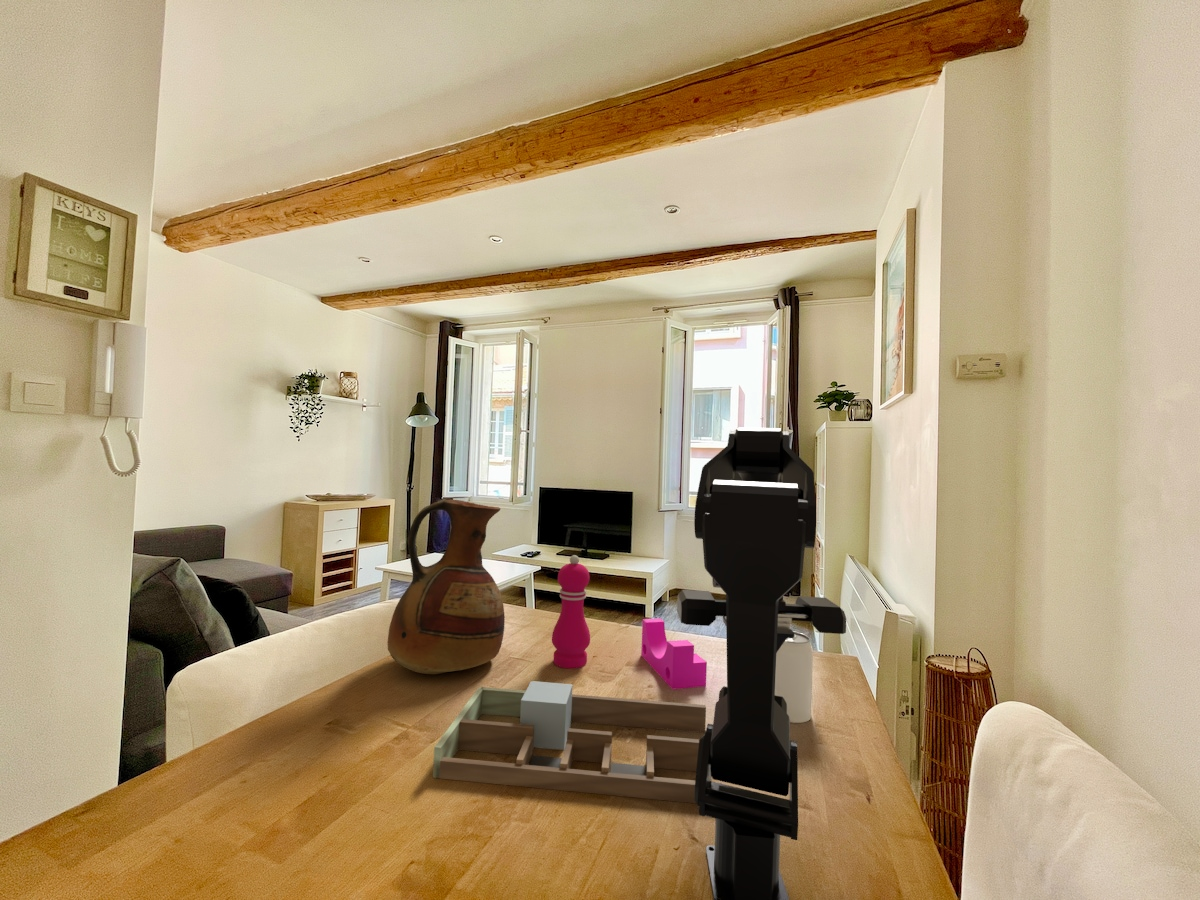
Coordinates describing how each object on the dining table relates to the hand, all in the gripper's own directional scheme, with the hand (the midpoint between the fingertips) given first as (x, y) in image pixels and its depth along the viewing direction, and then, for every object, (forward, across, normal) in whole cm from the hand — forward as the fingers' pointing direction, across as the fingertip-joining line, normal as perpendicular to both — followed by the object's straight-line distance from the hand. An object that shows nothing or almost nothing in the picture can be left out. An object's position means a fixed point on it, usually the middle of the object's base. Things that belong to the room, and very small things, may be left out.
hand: (755, 683), depth 61 cm
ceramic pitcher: (+12, +48, -29) cm, 57 cm away
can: (+12, -10, -19) cm, 24 cm away
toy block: (+12, +7, -33) cm, 36 cm away
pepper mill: (+12, +26, -34) cm, 44 cm away
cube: (+12, +26, -8) cm, 30 cm away
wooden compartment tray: (+12, +20, -7) cm, 25 cm away
